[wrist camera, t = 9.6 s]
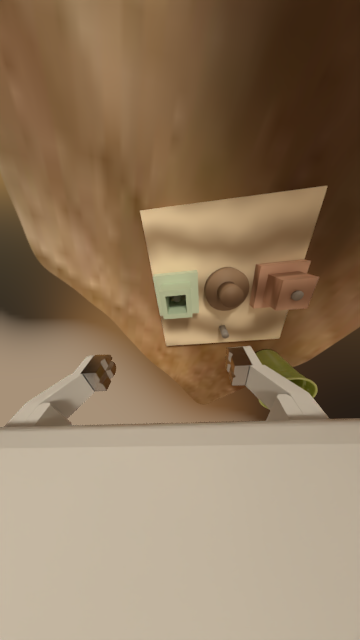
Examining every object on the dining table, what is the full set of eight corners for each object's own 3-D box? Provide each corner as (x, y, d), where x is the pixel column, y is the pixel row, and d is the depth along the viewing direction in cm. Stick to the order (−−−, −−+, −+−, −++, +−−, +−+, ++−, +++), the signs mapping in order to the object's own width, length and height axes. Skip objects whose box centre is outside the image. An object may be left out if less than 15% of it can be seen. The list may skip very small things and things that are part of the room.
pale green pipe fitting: (154, 274, 21) (147, 283, 17) (196, 269, 21) (200, 278, 17) (161, 311, 25) (156, 327, 20) (198, 308, 24) (201, 323, 20)
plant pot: (245, 376, 35) (262, 414, 28) (237, 350, 31) (255, 386, 23) (286, 367, 33) (316, 404, 26) (283, 337, 29) (319, 372, 21)
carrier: (142, 212, 19) (124, 200, 13) (316, 189, 17) (387, 163, 11) (167, 341, 30) (163, 367, 24) (274, 333, 28) (299, 359, 22)
